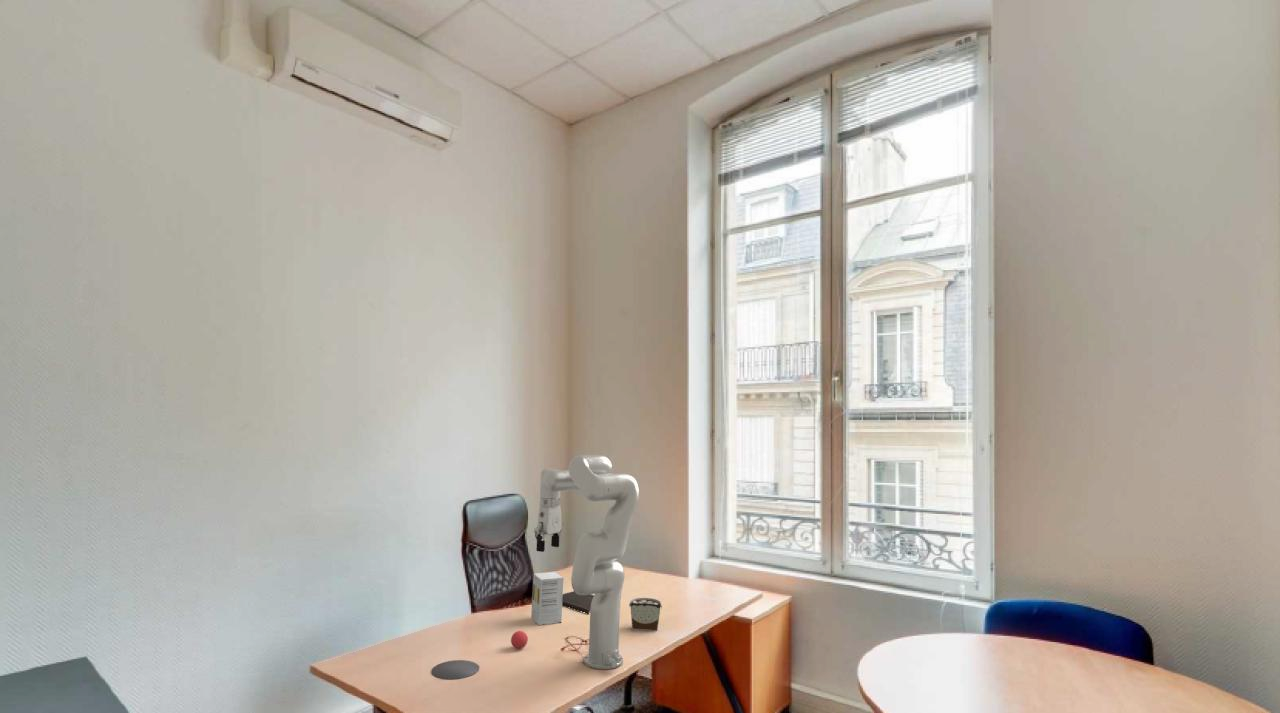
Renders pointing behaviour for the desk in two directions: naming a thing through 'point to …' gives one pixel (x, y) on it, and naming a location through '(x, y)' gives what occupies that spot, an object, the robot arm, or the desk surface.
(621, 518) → the robot arm
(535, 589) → the supplement box
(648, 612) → the food container
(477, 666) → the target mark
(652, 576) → the desk surface
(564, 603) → the hardcover book
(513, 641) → the ball
